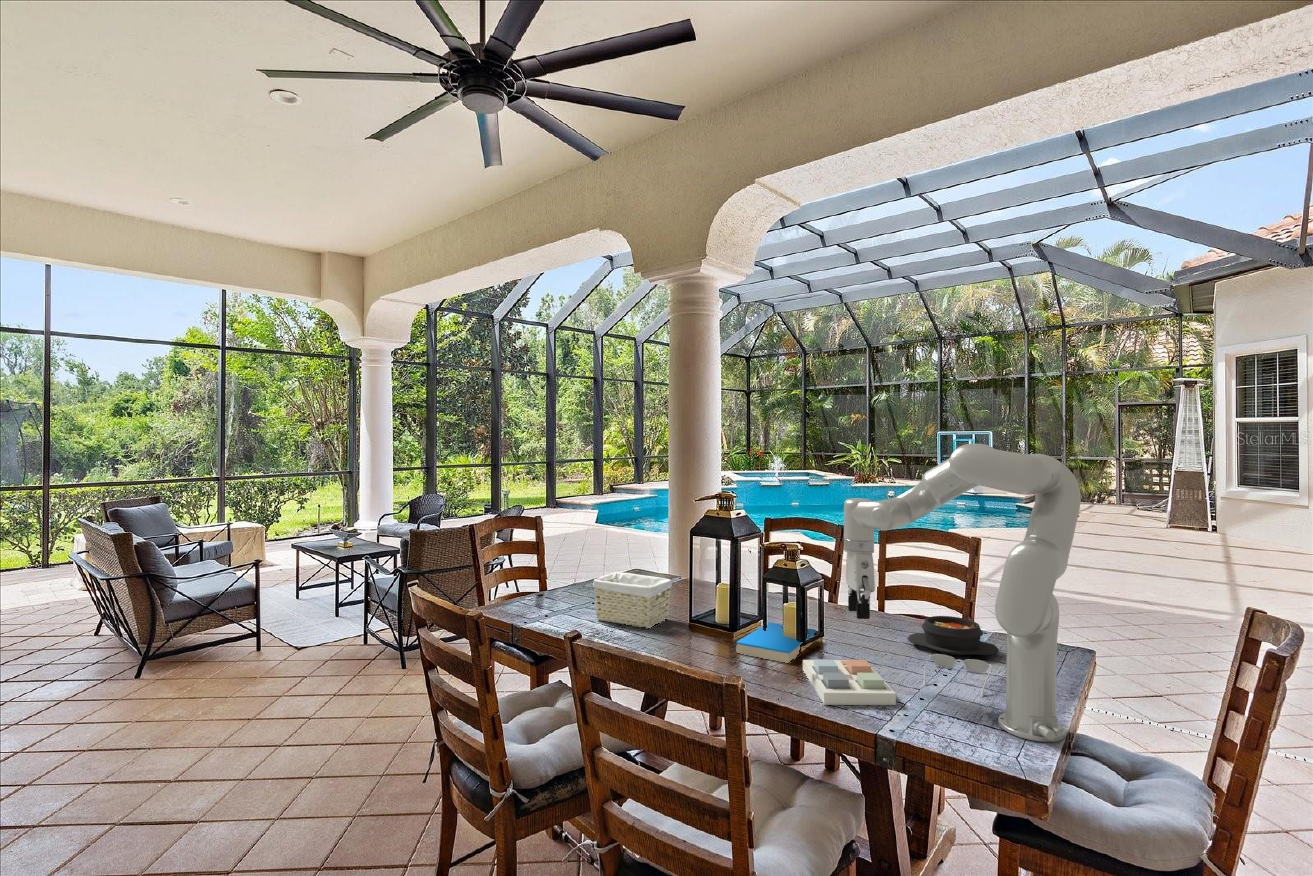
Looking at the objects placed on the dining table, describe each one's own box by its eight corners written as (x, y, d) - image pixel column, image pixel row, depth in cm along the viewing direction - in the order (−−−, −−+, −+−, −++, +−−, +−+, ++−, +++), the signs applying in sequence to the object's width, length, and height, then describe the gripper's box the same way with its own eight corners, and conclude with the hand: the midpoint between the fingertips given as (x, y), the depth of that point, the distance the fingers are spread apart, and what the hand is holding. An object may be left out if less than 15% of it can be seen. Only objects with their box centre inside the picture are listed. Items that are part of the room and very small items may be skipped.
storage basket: (673, 620, 225) (673, 577, 225) (650, 631, 211) (650, 587, 211) (616, 611, 237) (616, 571, 237) (590, 621, 223) (591, 579, 223)
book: (818, 630, 202) (790, 650, 180) (818, 643, 202) (790, 666, 180) (766, 621, 211) (734, 640, 189) (766, 635, 211) (734, 655, 189)
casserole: (1000, 648, 195) (1000, 621, 195) (996, 666, 179) (996, 636, 179) (913, 635, 208) (913, 609, 208) (902, 651, 192) (902, 623, 192)
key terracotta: (871, 676, 165) (871, 666, 165) (851, 676, 165) (851, 666, 165) (865, 669, 170) (865, 659, 170) (846, 669, 170) (846, 659, 170)
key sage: (884, 690, 155) (884, 680, 155) (863, 690, 155) (863, 680, 155) (877, 682, 160) (877, 672, 160) (857, 682, 160) (857, 672, 160)
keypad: (895, 706, 152) (895, 692, 152) (823, 705, 152) (823, 691, 152) (865, 671, 175) (865, 659, 175) (802, 670, 175) (802, 658, 175)
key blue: (838, 675, 165) (838, 666, 165) (818, 675, 165) (818, 666, 165) (832, 669, 170) (832, 659, 170) (813, 668, 170) (814, 659, 170)
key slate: (848, 690, 155) (848, 679, 155) (828, 690, 155) (828, 679, 155) (843, 682, 160) (843, 672, 160) (822, 682, 160) (822, 672, 160)
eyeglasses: (991, 677, 173) (991, 662, 173) (986, 700, 157) (986, 683, 157) (929, 666, 181) (929, 652, 181) (919, 687, 165) (919, 672, 165)
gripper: (884, 551, 159) (884, 624, 159) (863, 541, 176) (862, 606, 176) (854, 551, 159) (854, 624, 159) (835, 540, 176) (835, 606, 176)
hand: (858, 614), depth 167 cm, fingers open, 6 cm apart
